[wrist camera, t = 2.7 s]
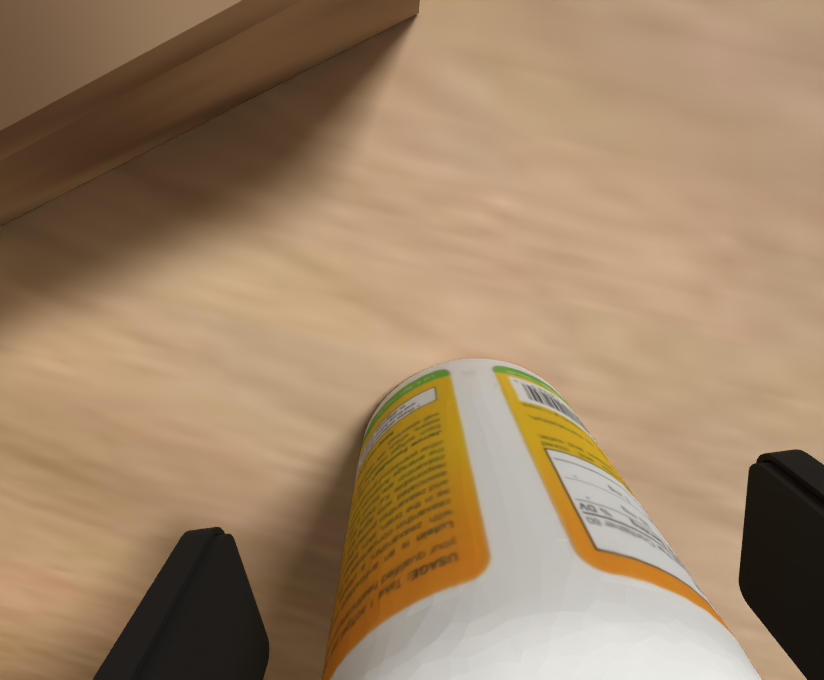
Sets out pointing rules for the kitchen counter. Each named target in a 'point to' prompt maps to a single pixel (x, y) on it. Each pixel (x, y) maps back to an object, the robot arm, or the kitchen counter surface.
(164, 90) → the picture frame
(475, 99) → the kitchen counter surface
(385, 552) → the supplement bottle
